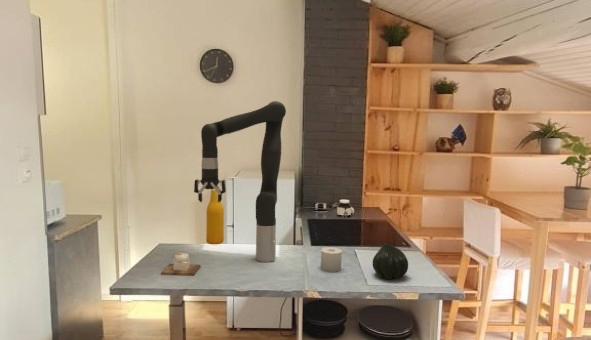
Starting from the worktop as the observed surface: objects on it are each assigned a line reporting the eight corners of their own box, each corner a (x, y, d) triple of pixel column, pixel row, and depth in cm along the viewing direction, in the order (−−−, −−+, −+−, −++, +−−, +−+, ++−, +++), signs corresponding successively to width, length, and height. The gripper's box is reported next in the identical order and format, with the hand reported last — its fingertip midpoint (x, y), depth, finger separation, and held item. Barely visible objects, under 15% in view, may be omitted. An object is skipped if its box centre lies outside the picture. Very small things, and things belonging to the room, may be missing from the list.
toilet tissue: (327, 261, 197) (327, 244, 196) (345, 270, 186) (345, 251, 185) (311, 264, 192) (312, 246, 191) (329, 273, 181) (330, 254, 180)
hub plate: (200, 266, 185) (200, 258, 185) (193, 275, 174) (193, 266, 174) (169, 265, 186) (169, 257, 185) (161, 274, 175) (161, 265, 174)
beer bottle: (215, 238, 230) (215, 187, 227) (227, 242, 225) (227, 189, 221) (202, 242, 222) (202, 189, 219) (214, 245, 217) (214, 191, 214)
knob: (189, 266, 183) (190, 252, 182) (186, 270, 177) (186, 256, 176) (177, 265, 183) (177, 251, 182) (173, 270, 177) (173, 255, 176)
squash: (417, 270, 172) (405, 238, 180) (385, 274, 168) (374, 241, 176) (403, 282, 183) (392, 251, 191) (373, 287, 179) (363, 255, 187)
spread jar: (336, 217, 293) (337, 201, 291) (337, 213, 304) (338, 198, 302) (353, 218, 291) (354, 201, 289) (354, 214, 302) (354, 199, 300)
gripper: (226, 166, 193) (226, 200, 195) (196, 166, 193) (196, 200, 195) (223, 168, 186) (223, 203, 188) (192, 167, 186) (192, 203, 188)
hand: (210, 201), depth 191 cm, fingers open, 8 cm apart
